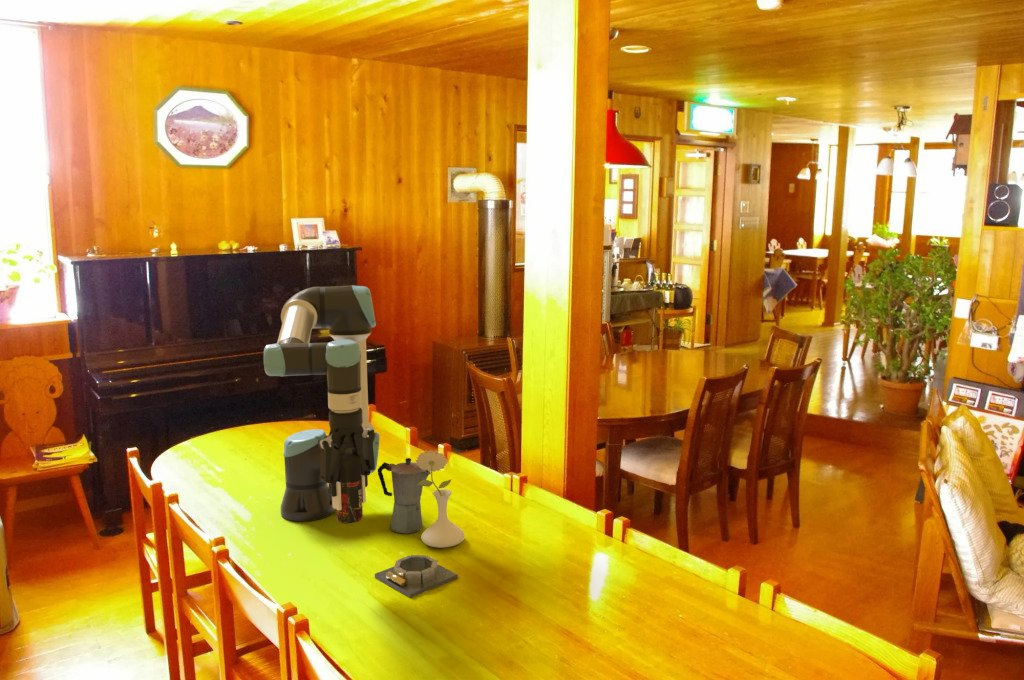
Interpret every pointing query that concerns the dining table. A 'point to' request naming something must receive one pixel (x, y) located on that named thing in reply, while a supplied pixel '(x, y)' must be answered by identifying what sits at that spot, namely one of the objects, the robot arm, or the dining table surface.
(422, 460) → the flower in vase
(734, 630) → the dining table surface
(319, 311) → the robot arm
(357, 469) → the deodorant
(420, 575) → the socket mount
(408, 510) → the moka pot
